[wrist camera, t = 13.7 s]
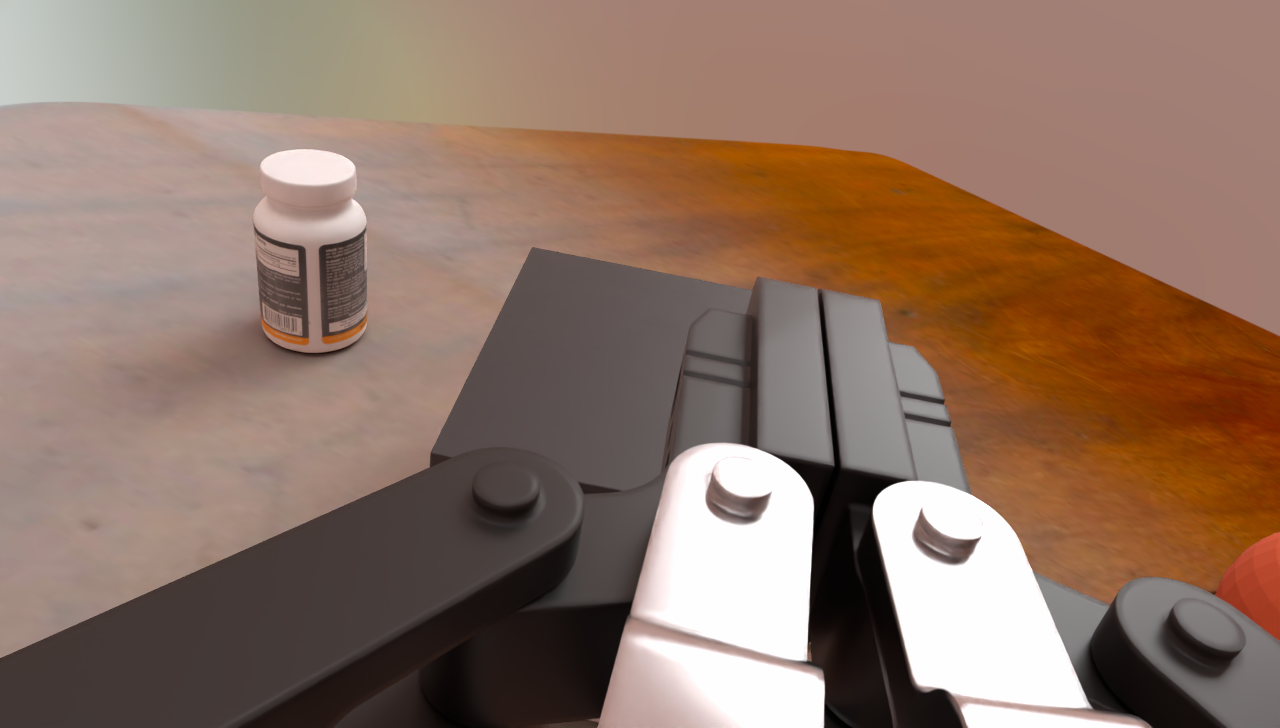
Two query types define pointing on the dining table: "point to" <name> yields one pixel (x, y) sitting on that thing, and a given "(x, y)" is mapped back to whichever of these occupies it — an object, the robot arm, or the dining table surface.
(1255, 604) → the tomato
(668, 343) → the small drawer unit
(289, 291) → the pill bottle
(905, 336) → the dining table surface
